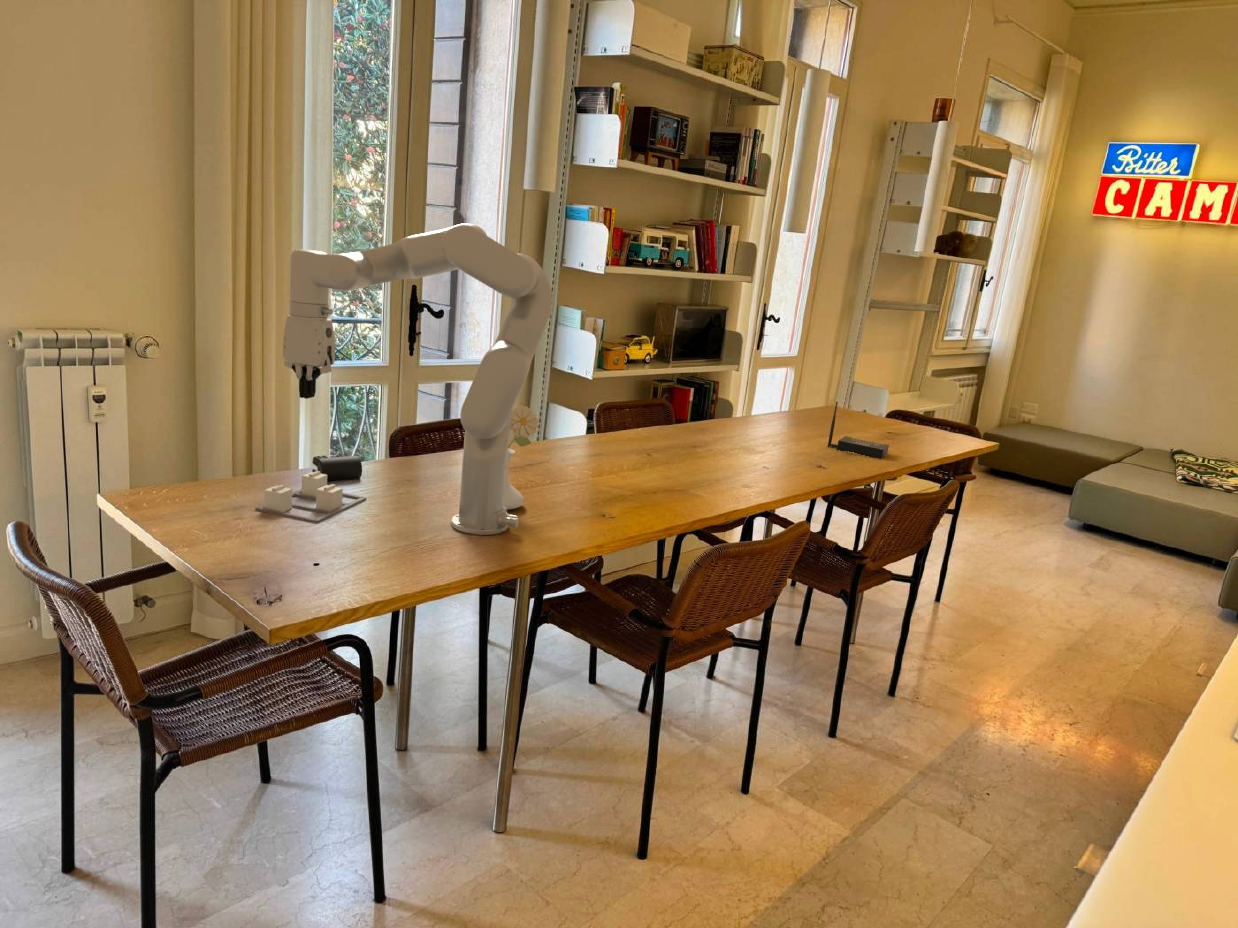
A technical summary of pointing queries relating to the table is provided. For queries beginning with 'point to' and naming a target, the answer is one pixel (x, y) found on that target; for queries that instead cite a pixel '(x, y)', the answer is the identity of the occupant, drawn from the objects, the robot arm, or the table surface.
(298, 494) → the switch bank
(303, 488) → the cream block with bar
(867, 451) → the wireless controller
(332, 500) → the cream block with ridge
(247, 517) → the table surface
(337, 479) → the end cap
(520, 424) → the flower in vase
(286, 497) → the cream block
